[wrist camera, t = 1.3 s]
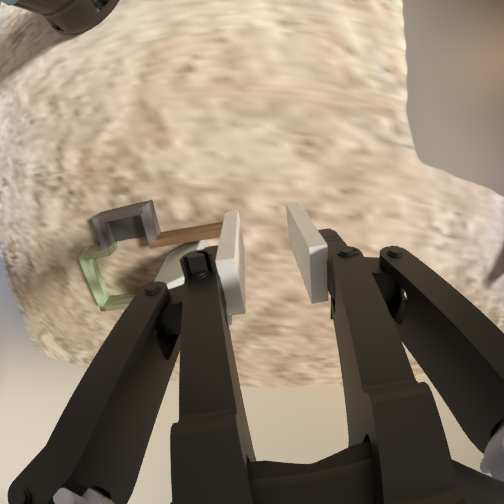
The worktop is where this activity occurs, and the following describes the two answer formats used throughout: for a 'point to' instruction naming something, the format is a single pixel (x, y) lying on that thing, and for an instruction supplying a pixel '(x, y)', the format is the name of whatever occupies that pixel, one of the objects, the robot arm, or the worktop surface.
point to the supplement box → (177, 264)
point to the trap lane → (127, 227)
